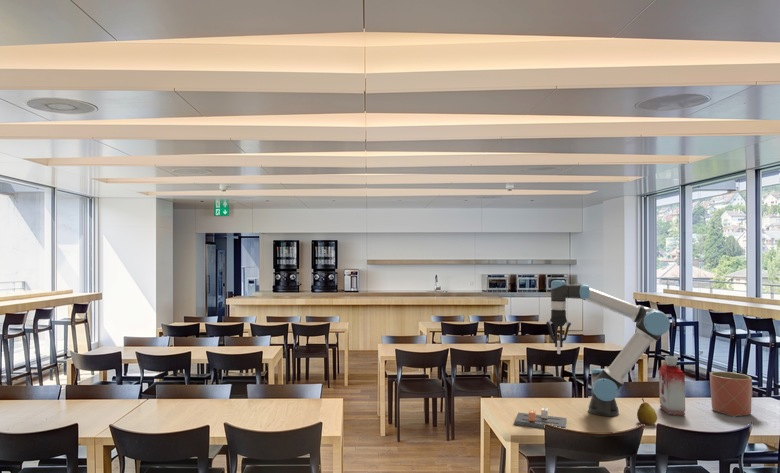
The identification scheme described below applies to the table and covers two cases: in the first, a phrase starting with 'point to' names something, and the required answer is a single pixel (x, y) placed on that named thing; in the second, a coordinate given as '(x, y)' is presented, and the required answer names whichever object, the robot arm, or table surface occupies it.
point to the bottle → (672, 387)
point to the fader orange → (532, 415)
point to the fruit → (646, 414)
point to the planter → (731, 393)
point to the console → (539, 421)
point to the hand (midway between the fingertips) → (558, 353)
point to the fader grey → (544, 413)
